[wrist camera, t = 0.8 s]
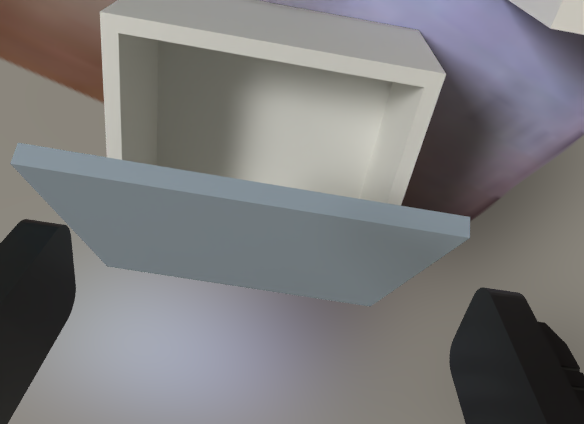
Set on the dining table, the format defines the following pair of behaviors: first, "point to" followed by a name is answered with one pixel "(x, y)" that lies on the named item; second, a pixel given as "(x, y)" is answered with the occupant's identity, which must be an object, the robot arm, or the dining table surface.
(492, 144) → the dining table surface
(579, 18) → the block
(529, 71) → the dining table surface
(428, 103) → the storage box
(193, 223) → the box lid
